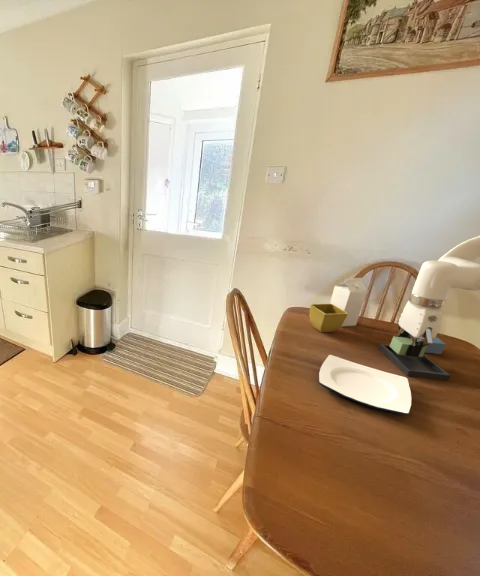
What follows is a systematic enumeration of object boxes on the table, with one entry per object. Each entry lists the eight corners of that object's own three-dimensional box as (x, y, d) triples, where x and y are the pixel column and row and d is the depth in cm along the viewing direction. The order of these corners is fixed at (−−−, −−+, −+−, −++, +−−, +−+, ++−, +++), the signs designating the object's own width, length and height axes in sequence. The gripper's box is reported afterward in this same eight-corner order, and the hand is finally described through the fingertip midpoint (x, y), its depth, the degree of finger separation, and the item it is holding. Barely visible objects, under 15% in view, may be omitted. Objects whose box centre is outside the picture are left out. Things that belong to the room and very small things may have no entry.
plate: (408, 385, 91) (411, 377, 90) (409, 426, 77) (413, 418, 76) (324, 358, 104) (326, 352, 103) (312, 390, 90) (314, 382, 89)
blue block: (430, 346, 109) (435, 336, 108) (441, 354, 105) (446, 343, 103) (408, 344, 111) (412, 334, 109) (418, 351, 106) (422, 341, 105)
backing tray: (413, 352, 106) (415, 347, 106) (448, 380, 92) (450, 375, 92) (378, 348, 109) (380, 343, 108) (406, 376, 95) (409, 370, 94)
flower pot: (342, 334, 118) (349, 313, 115) (319, 335, 118) (325, 314, 114) (326, 323, 126) (331, 303, 123) (304, 324, 126) (309, 304, 123)
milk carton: (325, 318, 130) (337, 276, 123) (341, 317, 131) (353, 275, 124) (339, 327, 123) (353, 282, 116) (356, 325, 124) (370, 281, 117)
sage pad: (412, 348, 104) (416, 338, 103) (422, 357, 100) (427, 346, 98) (389, 346, 106) (393, 336, 104) (398, 354, 101) (402, 344, 100)
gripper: (463, 313, 87) (438, 367, 94) (422, 291, 103) (403, 339, 109) (430, 311, 89) (408, 364, 96) (394, 289, 105) (377, 336, 111)
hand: (406, 350), depth 103 cm, fingers closed on sage pad, 5 cm apart
